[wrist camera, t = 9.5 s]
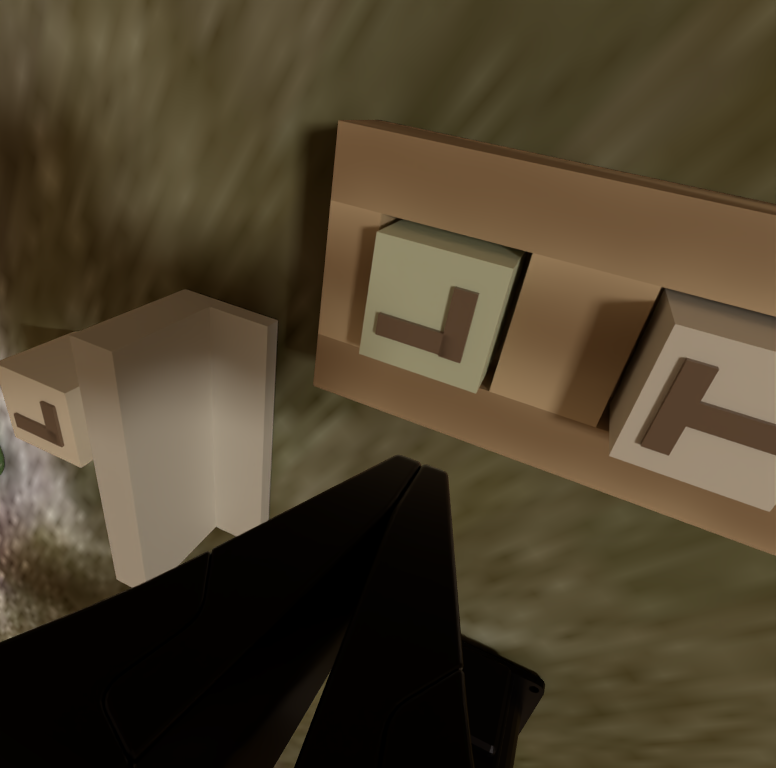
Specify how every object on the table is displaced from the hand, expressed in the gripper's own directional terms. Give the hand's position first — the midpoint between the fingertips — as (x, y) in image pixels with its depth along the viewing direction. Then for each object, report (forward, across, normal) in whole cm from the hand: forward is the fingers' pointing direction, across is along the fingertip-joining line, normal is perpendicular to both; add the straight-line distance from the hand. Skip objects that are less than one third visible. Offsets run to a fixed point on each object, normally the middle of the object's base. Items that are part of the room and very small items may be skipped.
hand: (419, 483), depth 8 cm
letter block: (+12, +20, +11) cm, 26 cm away
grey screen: (+11, +12, +11) cm, 20 cm away
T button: (+10, -6, +1) cm, 11 cm away
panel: (+11, -2, 0) cm, 12 cm away
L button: (+10, +2, 0) cm, 11 cm away
